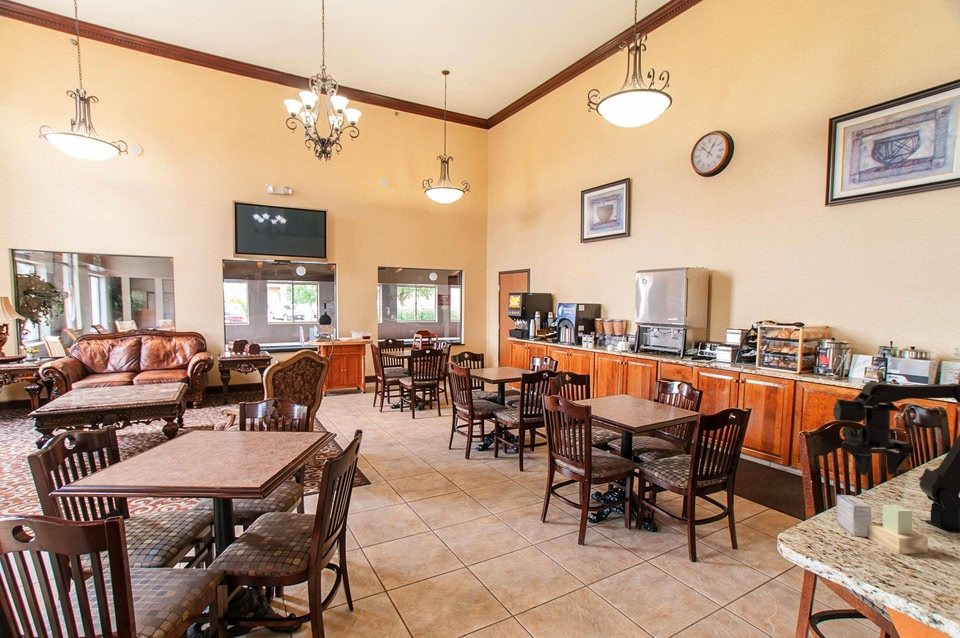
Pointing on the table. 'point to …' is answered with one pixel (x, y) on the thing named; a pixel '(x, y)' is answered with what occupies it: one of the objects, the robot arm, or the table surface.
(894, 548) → the beech slab
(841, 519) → the medicine box
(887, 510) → the sage block
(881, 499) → the table surface
